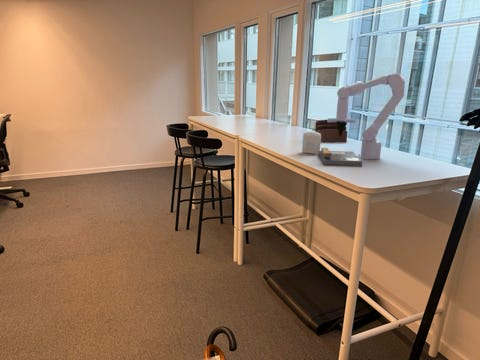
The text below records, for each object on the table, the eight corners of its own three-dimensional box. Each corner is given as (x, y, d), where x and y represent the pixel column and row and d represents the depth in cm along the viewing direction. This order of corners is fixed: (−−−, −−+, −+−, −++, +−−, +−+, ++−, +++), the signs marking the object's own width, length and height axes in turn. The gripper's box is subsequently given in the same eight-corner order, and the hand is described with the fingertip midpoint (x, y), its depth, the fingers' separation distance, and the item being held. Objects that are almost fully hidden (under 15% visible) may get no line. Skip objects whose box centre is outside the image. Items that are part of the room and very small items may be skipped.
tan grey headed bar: (320, 151, 181) (320, 147, 181) (327, 151, 181) (327, 147, 180) (324, 157, 167) (324, 153, 167) (331, 157, 167) (331, 153, 166)
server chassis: (352, 156, 183) (352, 151, 182) (361, 166, 162) (362, 160, 161) (318, 155, 185) (318, 150, 184) (323, 165, 164) (324, 160, 163)
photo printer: (321, 153, 189) (322, 131, 186) (318, 155, 186) (319, 132, 182) (303, 151, 195) (305, 130, 191) (300, 152, 191) (302, 131, 188)
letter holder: (314, 139, 232) (315, 119, 228) (343, 140, 230) (345, 119, 226) (315, 142, 223) (317, 121, 219) (346, 143, 221) (348, 121, 217)
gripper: (354, 110, 183) (352, 134, 187) (327, 109, 184) (325, 134, 188) (357, 111, 176) (354, 137, 180) (329, 110, 178) (327, 136, 182)
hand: (340, 135), depth 184 cm, fingers closed
